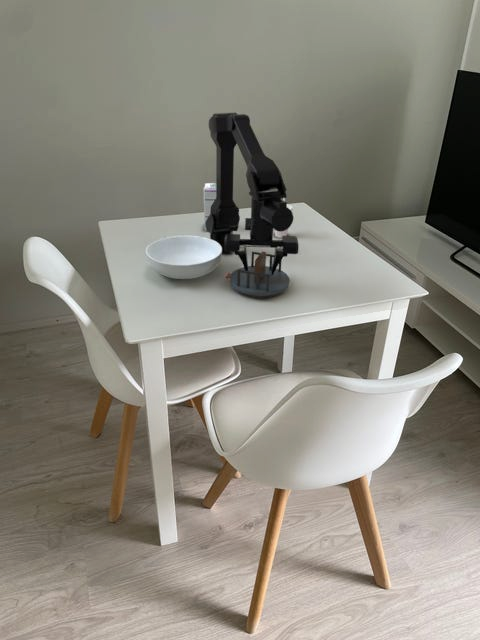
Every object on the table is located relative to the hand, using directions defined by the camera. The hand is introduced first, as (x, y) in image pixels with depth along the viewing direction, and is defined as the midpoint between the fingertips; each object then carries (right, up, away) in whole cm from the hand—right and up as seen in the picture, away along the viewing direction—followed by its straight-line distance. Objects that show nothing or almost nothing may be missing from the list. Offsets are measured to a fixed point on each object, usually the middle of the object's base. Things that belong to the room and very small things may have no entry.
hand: (259, 273), depth 137 cm
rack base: (0, -3, +2) cm, 4 cm away
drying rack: (-1, -2, +1) cm, 2 cm away
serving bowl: (-21, +1, +9) cm, 22 cm away
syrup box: (-14, +19, +37) cm, 44 cm away
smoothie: (+8, +15, +33) cm, 37 cm away
